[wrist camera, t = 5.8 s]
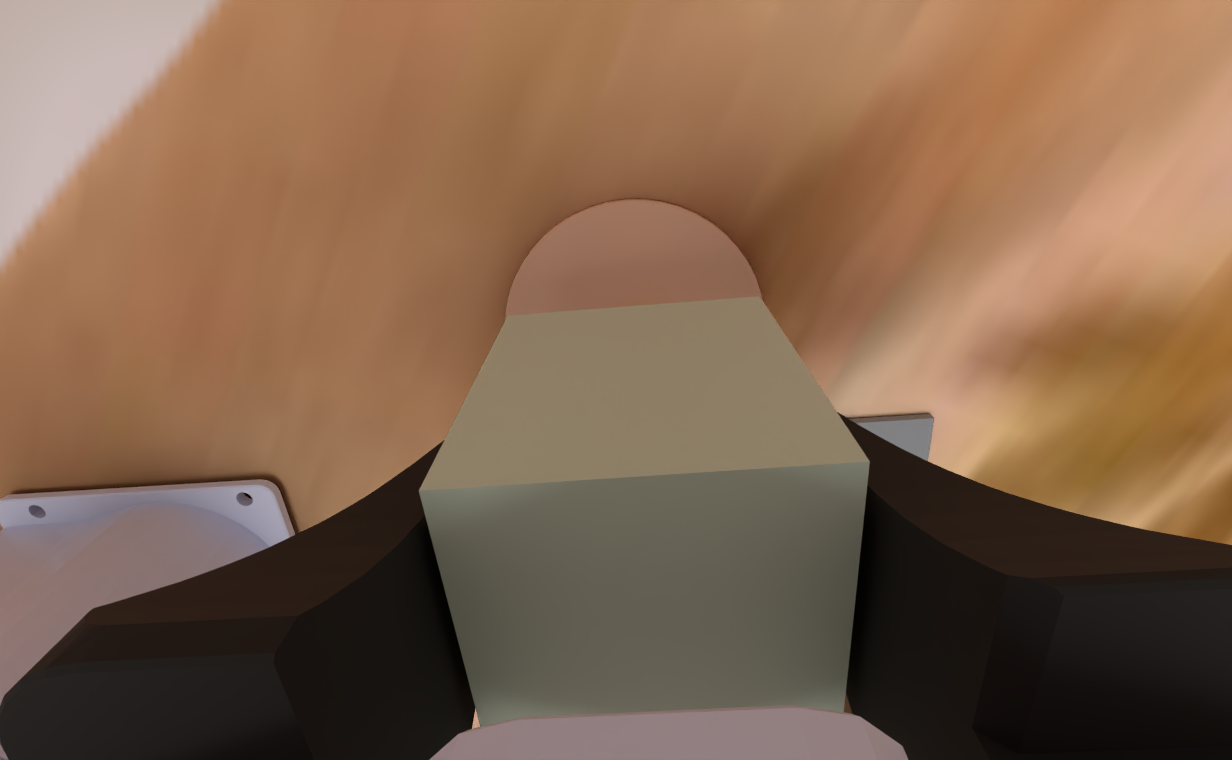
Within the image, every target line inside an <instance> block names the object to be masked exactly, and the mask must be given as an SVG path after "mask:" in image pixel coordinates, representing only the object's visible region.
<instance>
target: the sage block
mask: <svg viewBox="0 0 1232 760" xmlns="http://www.w3.org/2000/svg"><path fill="white" fill-rule="evenodd" d="M869 464H870V461H869V460H868V458H867V457H866V455H865V454H864V452H863V451H862V449H861V448H860V446H859V445H858V443H857V442H856V440H855V439H854V437H853V436H852V434H851V433H850V431H849V430H848V428H847V427H846V425H845V424H844V422H843V421H842V419H841V418H840V416H839V415H838V413H837V412H836V410H835V409H834V407H833V406H832V404H831V403H830V401H829V400H828V398H827V397H826V395H825V394H824V392H823V391H822V389H821V388H820V386H819V385H818V383H817V382H816V380H815V379H814V377H813V376H812V374H811V373H810V371H809V370H808V368H807V367H806V365H805V364H804V362H803V361H802V359H801V358H800V356H799V355H798V353H797V352H796V350H795V349H794V347H793V346H792V344H791V343H790V341H789V340H788V338H787V337H786V335H785V334H784V332H783V331H782V329H781V328H780V326H779V325H778V323H777V322H776V320H775V319H774V317H773V316H772V314H771V313H770V311H769V310H768V308H767V307H766V305H765V304H764V302H763V301H762V299H761V298H760V296H755V297H742V298H729V299H716V300H703V301H690V302H677V303H664V304H651V305H638V306H625V307H612V308H599V309H586V310H573V311H560V312H547V313H534V314H521V315H508V316H507V318H506V320H505V322H504V324H503V326H502V328H501V330H500V332H499V334H498V336H497V338H496V340H495V342H494V344H493V346H492V348H491V350H490V352H489V354H488V356H487V358H486V360H485V362H484V364H483V365H482V367H481V369H480V371H479V373H478V375H477V377H476V379H475V381H474V383H473V385H472V387H471V389H470V391H469V393H468V395H467V397H466V399H465V401H464V403H463V405H462V407H461V409H460V411H459V413H458V415H457V417H456V419H455V421H454V422H453V424H452V426H451V428H450V430H449V432H448V434H447V436H446V438H445V440H444V442H443V444H442V446H441V448H440V450H439V452H438V454H437V456H436V458H435V460H434V462H433V464H432V466H431V468H430V470H429V472H428V474H427V476H426V478H425V479H424V481H423V483H422V485H421V487H420V489H419V494H420V497H421V501H422V505H423V509H424V513H425V517H426V520H427V524H428V528H429V532H430V536H431V540H432V543H433V547H434V551H435V555H436V559H437V562H438V566H439V570H440V574H441V578H442V582H443V585H444V589H445V593H446V597H447V601H448V604H449V608H450V612H451V616H452V620H453V624H454V627H455V631H456V635H457V639H458V643H459V647H460V650H461V654H462V658H463V662H464V666H465V669H466V673H467V677H468V681H469V685H470V689H471V692H472V696H473V700H474V704H475V708H476V712H477V715H478V719H479V723H480V727H482V726H486V725H491V724H495V723H499V722H503V721H507V720H512V719H516V718H520V717H537V716H559V715H582V714H605V713H627V712H650V711H672V710H695V709H717V708H740V707H762V706H785V705H795V706H802V707H809V708H816V709H824V710H831V711H838V712H844V705H845V695H846V685H847V676H848V666H849V656H850V647H851V637H852V628H853V618H854V608H855V599H856V589H857V580H858V570H859V560H860V551H861V541H862V532H863V522H864V512H865V503H866V493H867V484H868V474H869Z"/></svg>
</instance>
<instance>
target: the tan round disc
mask: <svg viewBox="0 0 1232 760" xmlns="http://www.w3.org/2000/svg"><path fill="white" fill-rule="evenodd" d="M755 296H760V298H761V299H762V295H761V291H760V288H759V285H758V282H757V279H756V277H755V275H754V273H753V271H752V269H751V267H750V265H749V263H748V261H747V260H746V258H745V257H744V256H743V254H742V253H741V251H740V250H739V248H738V247H737V246H736V245H735V244H734V243H733V242H732V240H731V239H730V238H729V237H728V236H727V235H726V234H725V233H724V232H723V231H722V230H720V229H719V228H718V227H717V226H715V225H714V224H713V223H712V222H710V221H709V220H707V219H705V218H704V217H702V216H700V215H699V214H697V213H695V212H693V211H690V210H688V209H686V208H683V207H681V206H678V205H674V204H671V203H667V202H663V201H657V200H649V199H622V200H615V201H608V202H604V203H601V204H597V205H594V206H590V207H588V208H586V209H584V210H581V211H579V212H577V213H574V214H573V215H571V216H569V217H568V218H566V219H564V220H563V221H561V222H560V223H558V224H557V225H556V226H555V227H553V228H552V229H551V230H550V231H548V232H547V233H546V234H545V235H544V236H543V237H542V238H541V239H540V240H539V241H538V242H537V244H536V245H535V246H534V247H533V248H532V250H531V251H530V253H529V254H528V255H527V257H526V258H525V260H524V261H523V263H522V265H521V267H520V269H519V271H518V273H517V275H516V276H515V278H514V281H513V284H512V287H511V290H510V293H509V296H508V301H507V307H506V315H505V320H506V318H507V316H508V315H521V314H534V313H547V312H560V311H573V310H586V309H599V308H612V307H625V306H638V305H651V304H664V303H677V302H690V301H703V300H716V299H729V298H742V297H755ZM762 301H763V300H762Z"/></svg>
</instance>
